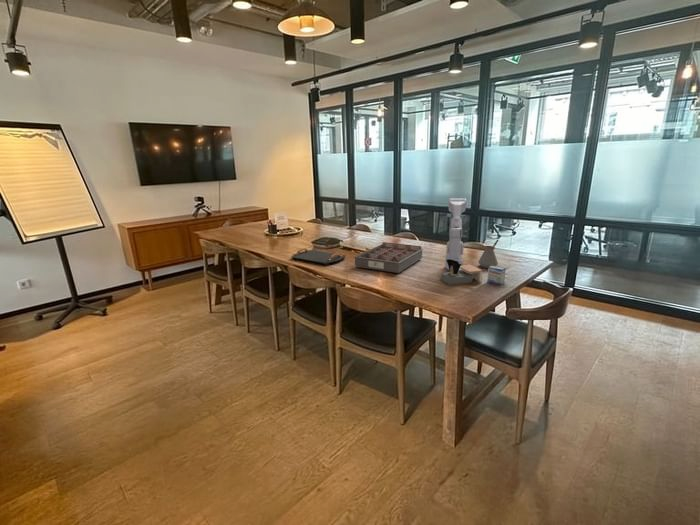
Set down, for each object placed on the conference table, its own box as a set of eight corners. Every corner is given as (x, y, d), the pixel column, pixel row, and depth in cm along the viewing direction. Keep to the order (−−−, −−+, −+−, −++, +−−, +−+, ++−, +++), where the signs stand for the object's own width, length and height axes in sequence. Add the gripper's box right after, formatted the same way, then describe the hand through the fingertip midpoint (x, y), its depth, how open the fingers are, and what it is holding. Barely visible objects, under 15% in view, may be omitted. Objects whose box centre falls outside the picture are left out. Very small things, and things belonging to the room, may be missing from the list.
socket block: (440, 279, 201) (440, 272, 200) (462, 277, 205) (462, 270, 204) (449, 285, 192) (449, 278, 191) (472, 282, 195) (472, 275, 194)
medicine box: (486, 281, 196) (488, 266, 193) (490, 279, 199) (491, 265, 196) (501, 285, 190) (502, 269, 188) (504, 282, 193) (506, 267, 191)
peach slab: (456, 277, 205) (457, 265, 203) (469, 275, 207) (470, 264, 205) (468, 283, 194) (469, 271, 192) (481, 281, 196) (482, 270, 194)
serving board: (349, 259, 249) (349, 251, 248) (329, 267, 231) (328, 258, 230) (309, 253, 271) (308, 245, 270) (287, 260, 253) (286, 251, 252)
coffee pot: (493, 270, 215) (495, 246, 211) (475, 267, 223) (476, 244, 218) (505, 262, 230) (507, 240, 226) (488, 259, 238) (489, 238, 234)
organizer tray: (353, 268, 227) (353, 253, 225) (382, 254, 260) (382, 241, 257) (399, 275, 211) (399, 259, 208) (423, 259, 243) (423, 245, 240)
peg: (448, 279, 199) (449, 265, 197) (454, 278, 200) (455, 265, 197) (451, 281, 196) (452, 267, 193) (457, 280, 196) (458, 266, 194)
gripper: (441, 247, 199) (440, 270, 202) (455, 253, 185) (453, 277, 189) (452, 246, 200) (451, 268, 204) (467, 251, 187) (465, 276, 190)
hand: (453, 273), depth 197 cm, fingers closed on peg, 3 cm apart
